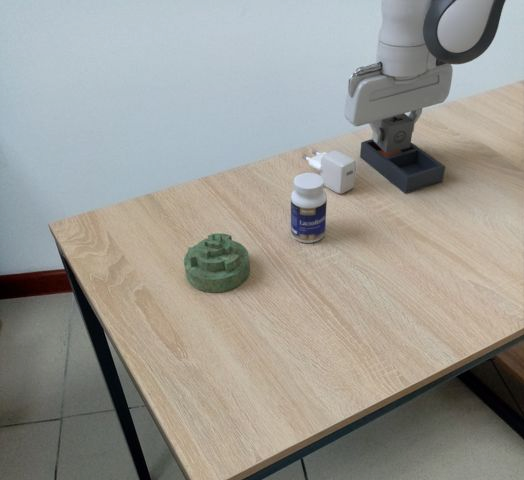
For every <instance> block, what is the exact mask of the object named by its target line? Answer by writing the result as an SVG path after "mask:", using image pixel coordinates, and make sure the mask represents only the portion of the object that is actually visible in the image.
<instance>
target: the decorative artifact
mask: <svg viewBox="0 0 524 480" xmlns="http://www.w3.org/2000/svg"><path fill="white" fill-rule="evenodd" d="M183 265H184V270H185V275H186V279H187V281H188V283H189V284H190V285H191V286H192V287H193V288H195V289H197V290H198V291H201V292H205V293H225V292H228V291H231V290H234V289H237V288H238V287H240V286H241V285H243V283H245V282H246V280H247V279H248V278H249V276H250V273H251V266H250V255H249V251H248V250H247V248H246V247H245V246H244V245H243V244H241V243H240V242H238V241H236V240H233V237H232V235H230V234H228V233H220V232H219V233H210V234H208V235H207V238H204V239H202V240H201V241H199V242H198V243H197V244H195V245H194V246H192V247H188V249H187V252H186V254H185V255H184V259H183Z"/></svg>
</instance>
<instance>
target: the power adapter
mask: <svg viewBox="0 0 524 480" xmlns="http://www.w3.org/2000/svg"><path fill="white" fill-rule="evenodd" d="M311 153H312V154H313V155H314V156H312V157H309V156H307V155H306V154H302V155H301V158H302V159H304V160H305V161H307V162H308V163H307V164H308V165H309V167H310V168H311V169H313V170H315V171H317V172H318V173H320V174H319V175H320V176H322V177H323V179H324V187H326V188H327V189H329V190H331V191H333V192H335V193H336V194H341V195H342V194H345V193H347V192H348V191H350V190H352V189H353V188H354V186H355V183H356V174H357V173H356V172H357V171H356V170H357V162H356V159H355V158H353V157H351V156H350V155H348V154H346V153H344V152H342V151H339V150H336V149H333V150H331V151H329V152H327V151H323V152H319V151H317V150H315V149H313V150H312V151H311Z"/></svg>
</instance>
